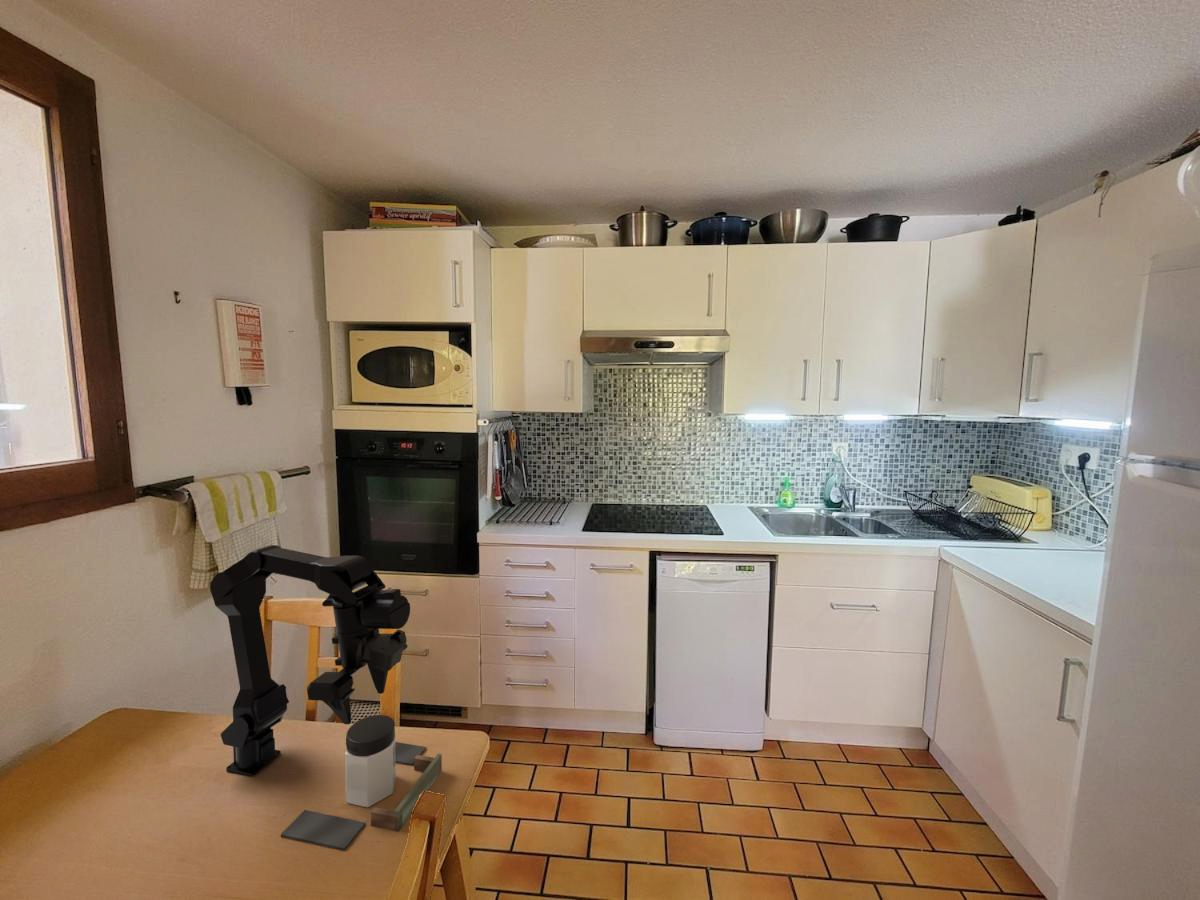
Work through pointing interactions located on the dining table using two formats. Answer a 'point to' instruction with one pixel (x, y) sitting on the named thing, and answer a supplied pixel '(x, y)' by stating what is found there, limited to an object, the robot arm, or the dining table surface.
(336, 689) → the robot arm
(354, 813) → the dining table surface
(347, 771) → the jar
